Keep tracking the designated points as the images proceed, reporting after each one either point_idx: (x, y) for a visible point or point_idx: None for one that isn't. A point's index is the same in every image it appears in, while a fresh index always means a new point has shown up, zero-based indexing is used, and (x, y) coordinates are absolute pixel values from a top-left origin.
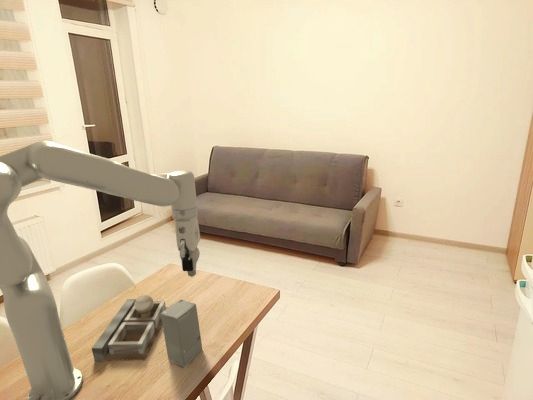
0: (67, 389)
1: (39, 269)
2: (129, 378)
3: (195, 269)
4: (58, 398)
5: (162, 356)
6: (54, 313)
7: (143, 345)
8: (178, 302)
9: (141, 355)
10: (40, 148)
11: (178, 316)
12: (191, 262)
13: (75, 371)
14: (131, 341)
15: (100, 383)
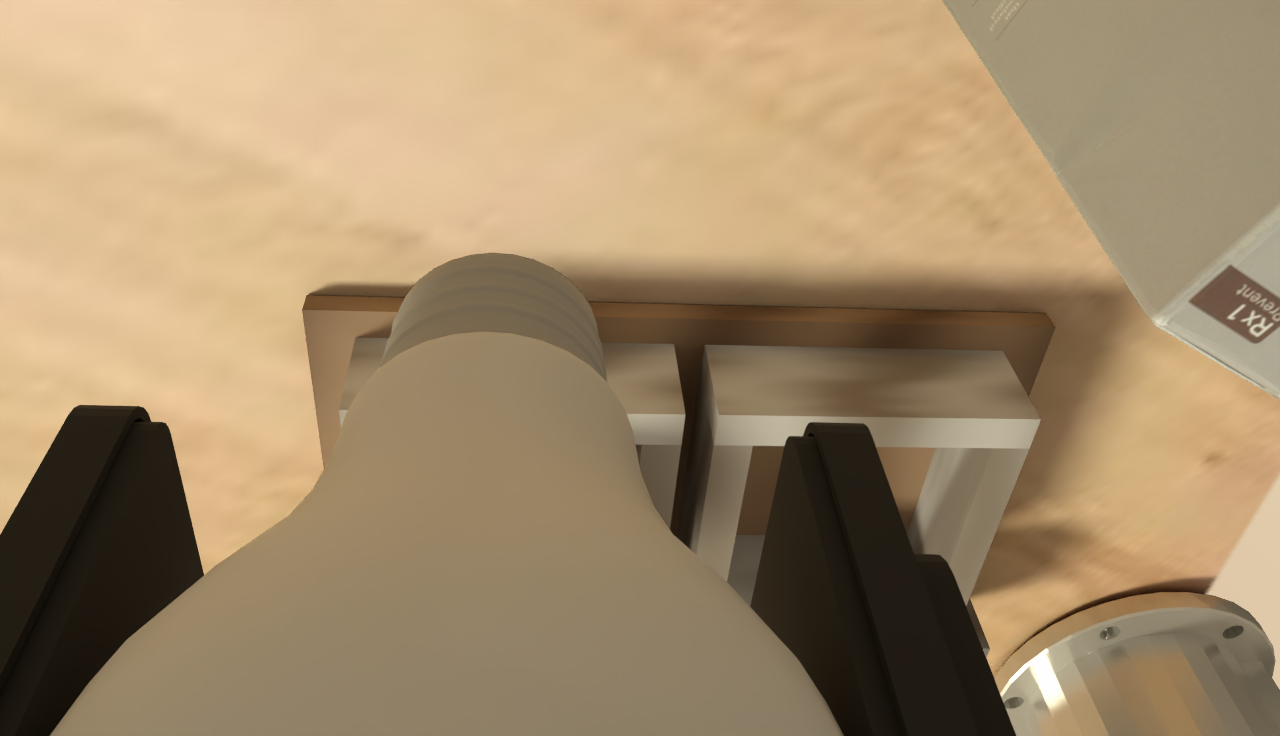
0: (1213, 649)
1: None
2: (1205, 360)
3: (499, 331)
4: (1242, 654)
5: (1048, 187)
6: None
7: (995, 391)
8: (1265, 334)
9: (1016, 359)
10: None
11: None
12: (944, 675)
13: (1047, 666)
14: (972, 499)
15: (1170, 507)
